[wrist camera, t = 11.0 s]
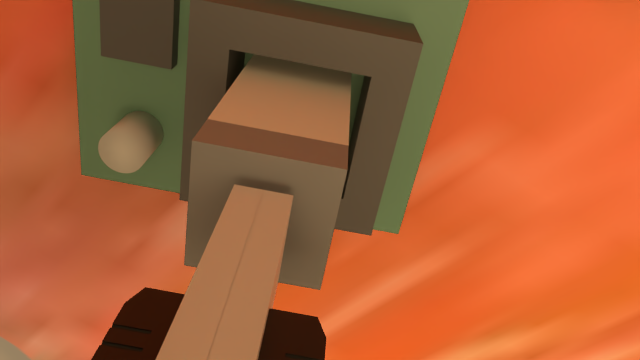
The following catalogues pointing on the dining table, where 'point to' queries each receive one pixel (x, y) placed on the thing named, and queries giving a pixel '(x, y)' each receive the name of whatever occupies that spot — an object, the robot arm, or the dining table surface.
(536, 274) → the dining table surface
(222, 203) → the plug
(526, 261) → the dining table surface
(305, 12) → the board
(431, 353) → the dining table surface
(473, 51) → the dining table surface
